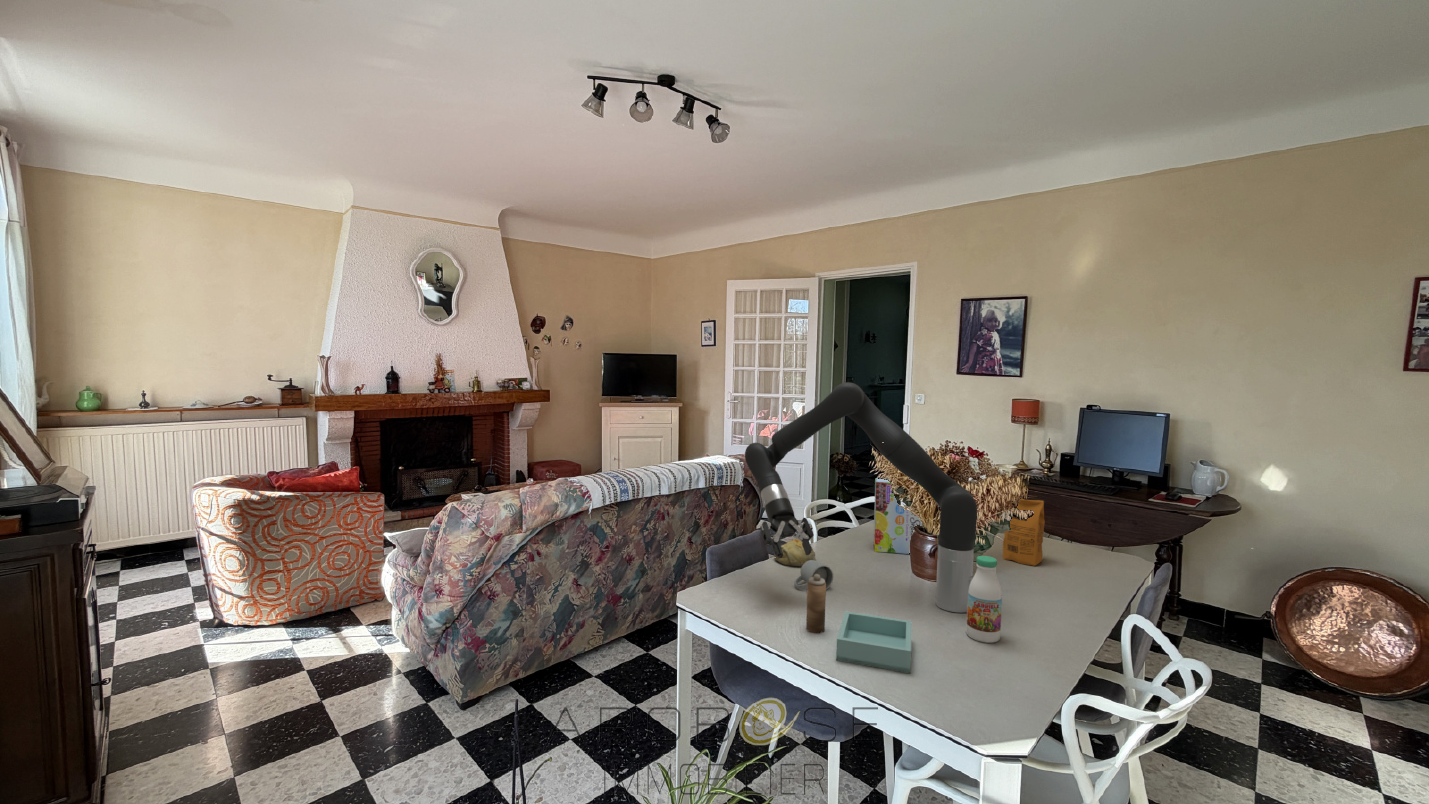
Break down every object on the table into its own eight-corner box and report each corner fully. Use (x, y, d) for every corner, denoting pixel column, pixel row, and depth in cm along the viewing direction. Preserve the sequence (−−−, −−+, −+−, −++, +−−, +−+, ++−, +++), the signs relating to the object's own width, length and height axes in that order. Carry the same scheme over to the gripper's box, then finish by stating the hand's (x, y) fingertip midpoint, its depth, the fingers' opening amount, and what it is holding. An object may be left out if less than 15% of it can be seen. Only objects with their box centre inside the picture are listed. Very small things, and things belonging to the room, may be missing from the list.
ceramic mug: (819, 579, 184) (819, 555, 183) (833, 589, 176) (834, 564, 175) (788, 584, 180) (789, 560, 179) (802, 594, 172) (802, 569, 172)
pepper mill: (825, 626, 151) (827, 572, 150) (823, 634, 147) (824, 578, 146) (807, 623, 153) (809, 569, 152) (804, 631, 148) (806, 576, 147)
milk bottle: (961, 628, 151) (964, 552, 150) (991, 629, 151) (995, 553, 150) (973, 643, 144) (977, 563, 142) (1005, 644, 143) (1010, 563, 142)
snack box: (934, 549, 215) (937, 480, 213) (937, 557, 207) (940, 485, 205) (872, 544, 220) (875, 476, 218) (873, 552, 211) (876, 481, 210)
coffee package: (1009, 552, 213) (1012, 492, 212) (1046, 561, 204) (1050, 499, 203) (997, 558, 207) (1000, 496, 205) (1035, 568, 198) (1039, 503, 196)
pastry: (822, 561, 201) (823, 538, 201) (806, 571, 191) (807, 547, 190) (785, 553, 209) (785, 530, 209) (768, 562, 199) (769, 539, 198)
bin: (910, 640, 144) (911, 621, 144) (910, 673, 129) (911, 651, 129) (844, 630, 150) (844, 611, 149) (836, 660, 134) (836, 638, 134)
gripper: (758, 498, 164) (776, 551, 154) (803, 495, 169) (823, 546, 159) (750, 512, 169) (766, 564, 159) (794, 508, 174) (812, 559, 165)
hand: (795, 555), depth 159 cm, fingers open, 8 cm apart
